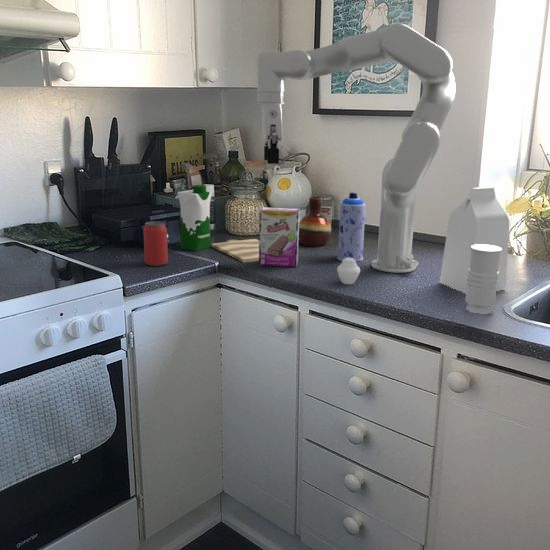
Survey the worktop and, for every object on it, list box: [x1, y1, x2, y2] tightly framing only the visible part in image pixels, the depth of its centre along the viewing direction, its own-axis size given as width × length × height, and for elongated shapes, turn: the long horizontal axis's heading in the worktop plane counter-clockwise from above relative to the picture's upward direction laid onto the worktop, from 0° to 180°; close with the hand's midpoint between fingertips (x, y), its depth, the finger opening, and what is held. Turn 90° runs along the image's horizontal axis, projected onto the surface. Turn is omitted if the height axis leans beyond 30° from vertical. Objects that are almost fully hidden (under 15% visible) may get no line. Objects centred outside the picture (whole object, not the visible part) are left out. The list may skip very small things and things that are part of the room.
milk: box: [439, 186, 511, 295], centre depth 159 cm, size 12×12×26 cm
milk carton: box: [177, 184, 213, 252], centre depth 196 cm, size 9×9×20 cm
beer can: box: [142, 220, 169, 267], centre depth 178 cm, size 7×7×12 cm
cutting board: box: [211, 238, 259, 263], centre depth 196 cm, size 24×16×1 cm, turn 31°
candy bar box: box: [258, 206, 301, 268], centre depth 178 cm, size 11×5×16 cm, turn 84°
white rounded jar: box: [336, 257, 361, 285], centre depth 163 cm, size 6×6×7 cm
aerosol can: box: [336, 192, 366, 263], centre depth 186 cm, size 8×8×20 cm
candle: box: [464, 244, 502, 315], centre depth 143 cm, size 7×7×15 cm
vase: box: [298, 196, 332, 247], centre depth 204 cm, size 11×11×15 cm
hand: (271, 161), depth 176 cm, fingers open, 9 cm apart
